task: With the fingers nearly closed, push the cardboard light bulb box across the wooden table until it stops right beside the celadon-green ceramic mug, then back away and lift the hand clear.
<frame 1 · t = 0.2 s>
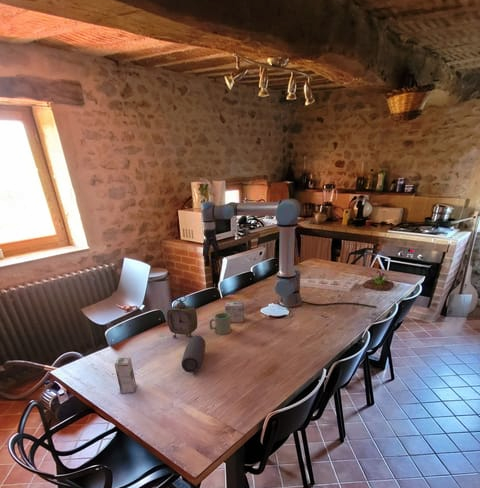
hand: (212, 263, 232), 28 cm above the table, tool pointing down, fingers open, 13 cm apart
light bulb box: (235, 320, 220), on the table
bluetooth speaker: (195, 363, 175), on the table
holder: (323, 284, 272), on the table
tabletop clock: (185, 337, 203), on the table
syrup box: (129, 389, 158), on the table
mug: (223, 331, 207), on the table
plant: (378, 286, 263), on the table
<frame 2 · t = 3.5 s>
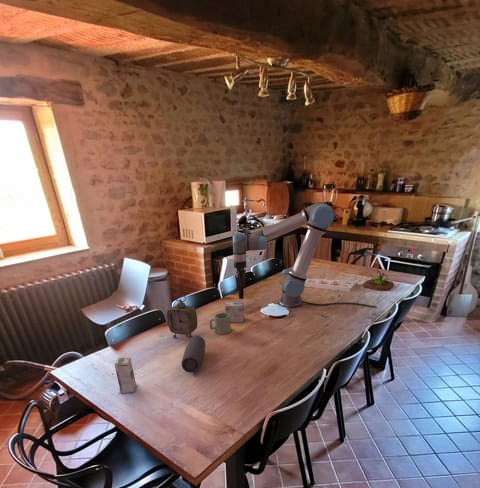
hand: (241, 298, 226), 9 cm above the table, tool pointing down, fingers closed
nothing on the table moved.
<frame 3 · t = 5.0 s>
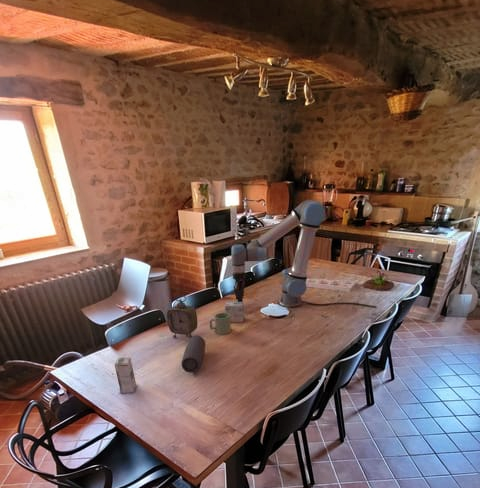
hand: (240, 309, 227), 3 cm above the table, tool pointing down, fingers closed
nothing on the table moved.
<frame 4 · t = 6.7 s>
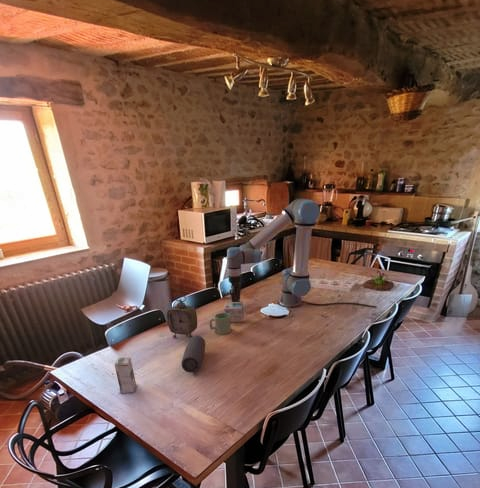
hand: (236, 312, 221), 3 cm above the table, tool pointing down, fingers closed
light bulb box: (235, 319, 219), point 1 cm above the table, touching gripper, hand
everything else where it was.
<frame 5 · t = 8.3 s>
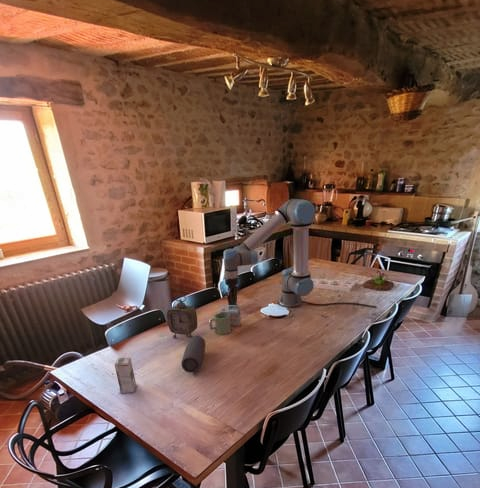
hand: (233, 315, 217), 4 cm above the table, tool pointing down, fingers closed
light bulb box: (231, 322, 215), point 1 cm above the table, touching hand, mug
mug: (223, 331, 207), on the table, touching light bulb box
everything else where it was.
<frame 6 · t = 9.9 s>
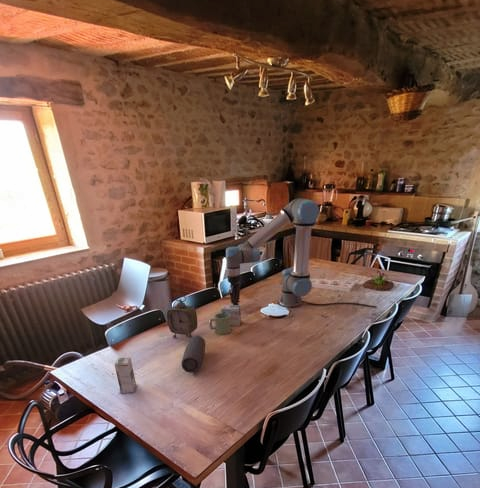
hand: (236, 313, 219), 4 cm above the table, tool pointing down, fingers closed
light bulb box: (231, 323, 216), on the table
mug: (223, 331, 207), on the table
everything else where it was.
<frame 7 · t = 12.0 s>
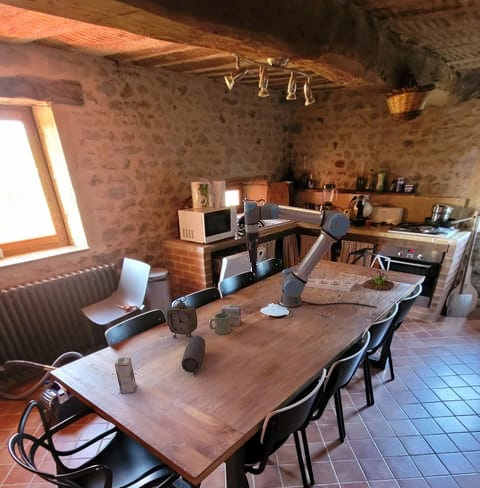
hand: (254, 272, 218), 25 cm above the table, tool pointing down, fingers closed
nothing on the table moved.
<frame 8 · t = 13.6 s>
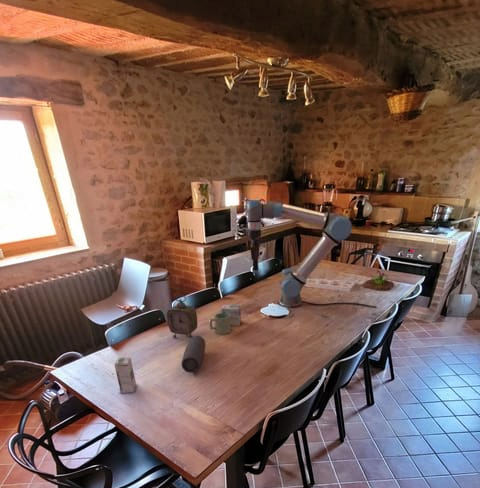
hand: (255, 270, 219), 26 cm above the table, tool pointing down, fingers closed
nothing on the table moved.
at the end: light bulb box 11.3 cm from the mug (horizontally); light bulb box tilted 0°; mug moved 0.0 cm from its start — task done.
